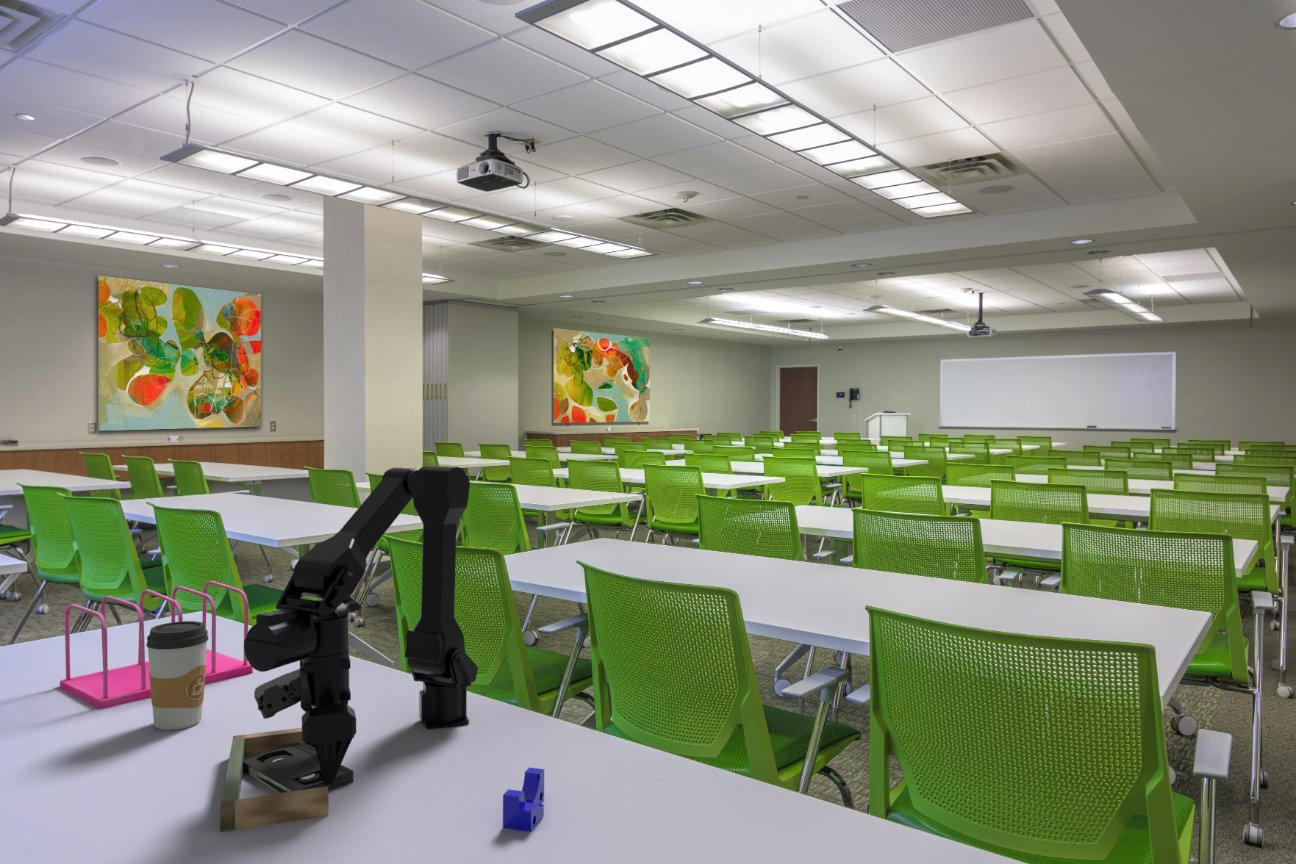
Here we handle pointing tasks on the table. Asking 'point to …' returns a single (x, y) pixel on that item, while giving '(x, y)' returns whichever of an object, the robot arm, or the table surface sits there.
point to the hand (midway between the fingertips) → (327, 769)
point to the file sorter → (135, 678)
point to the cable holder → (525, 802)
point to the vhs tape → (292, 770)
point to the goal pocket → (267, 806)
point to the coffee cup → (177, 673)
